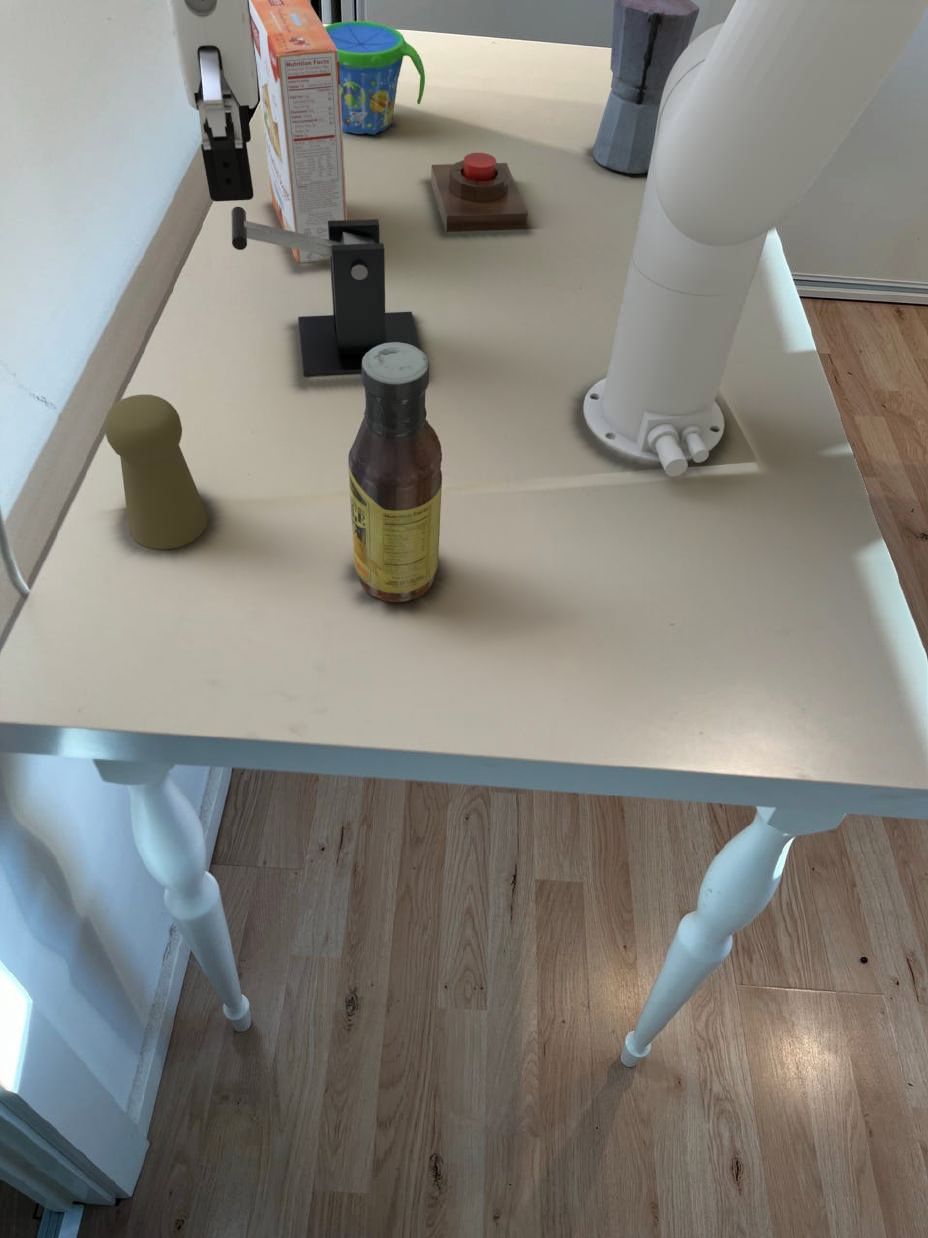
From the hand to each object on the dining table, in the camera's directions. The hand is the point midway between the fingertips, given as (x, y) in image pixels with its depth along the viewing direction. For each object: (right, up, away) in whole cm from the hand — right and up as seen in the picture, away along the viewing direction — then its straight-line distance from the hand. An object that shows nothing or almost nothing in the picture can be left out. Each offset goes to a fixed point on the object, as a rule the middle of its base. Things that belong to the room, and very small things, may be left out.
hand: (232, 168), depth 74 cm
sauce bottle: (+13, -33, -3) cm, 35 cm away
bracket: (+8, -10, +15) cm, 20 cm away
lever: (+4, -4, +7) cm, 9 cm away
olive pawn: (-5, -28, 0) cm, 28 cm away
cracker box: (+1, +6, +28) cm, 29 cm away
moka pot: (+39, +21, +44) cm, 62 cm away
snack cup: (+5, +28, +46) cm, 54 cm away
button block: (+20, +12, +34) cm, 41 cm away
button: (+20, +14, +31) cm, 40 cm away
